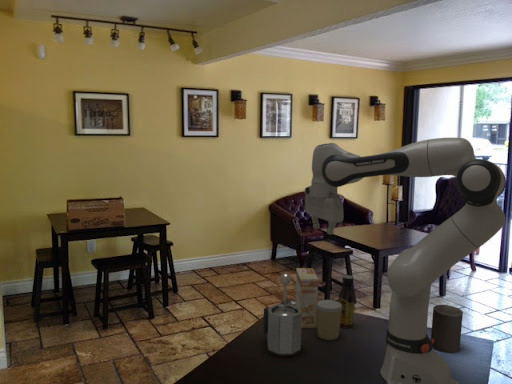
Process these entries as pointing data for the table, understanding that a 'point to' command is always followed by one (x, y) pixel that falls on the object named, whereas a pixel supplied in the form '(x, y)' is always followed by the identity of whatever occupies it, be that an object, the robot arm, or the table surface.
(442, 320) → the pillar candle
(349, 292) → the sauce bottle
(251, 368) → the table surface
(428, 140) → the robot arm
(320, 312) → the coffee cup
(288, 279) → the plunger
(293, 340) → the press pot
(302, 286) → the coffeecake box
